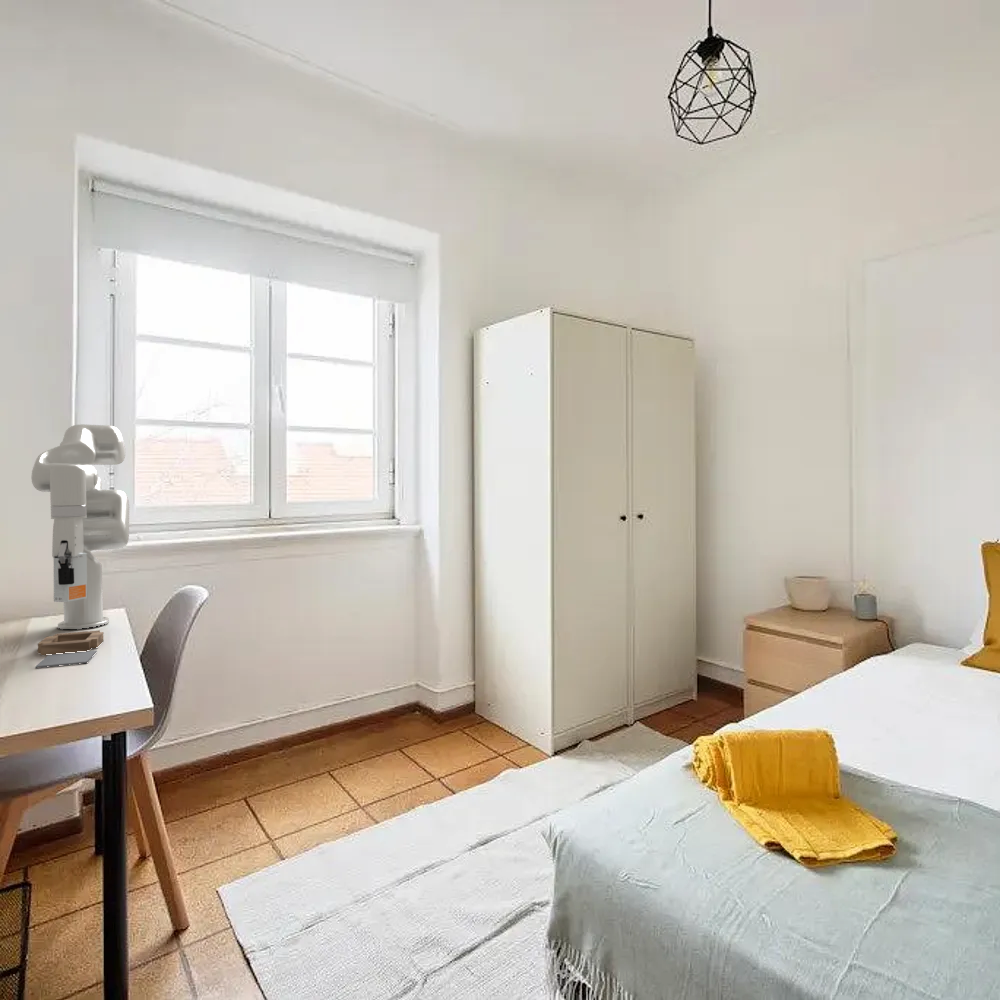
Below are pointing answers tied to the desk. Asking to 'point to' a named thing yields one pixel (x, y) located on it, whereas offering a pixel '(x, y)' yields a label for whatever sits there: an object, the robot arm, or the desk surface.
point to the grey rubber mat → (66, 659)
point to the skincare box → (80, 581)
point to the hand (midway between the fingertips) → (70, 581)
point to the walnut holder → (70, 642)
